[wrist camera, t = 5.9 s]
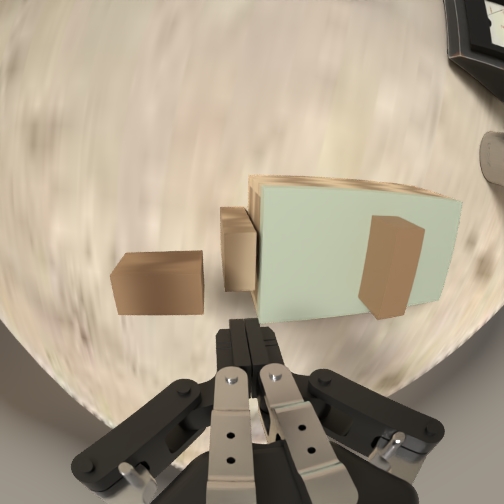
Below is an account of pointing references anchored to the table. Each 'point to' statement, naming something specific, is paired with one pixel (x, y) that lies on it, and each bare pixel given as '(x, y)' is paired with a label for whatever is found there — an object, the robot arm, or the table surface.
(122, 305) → the wooden block
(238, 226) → the toolbox
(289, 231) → the lid
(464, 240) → the table surface
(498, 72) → the voltmeter
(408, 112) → the table surface
